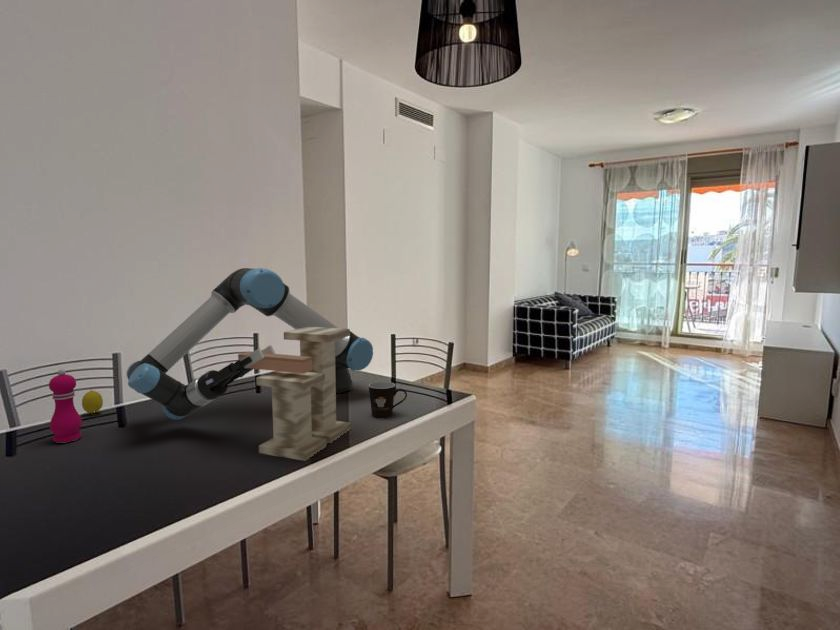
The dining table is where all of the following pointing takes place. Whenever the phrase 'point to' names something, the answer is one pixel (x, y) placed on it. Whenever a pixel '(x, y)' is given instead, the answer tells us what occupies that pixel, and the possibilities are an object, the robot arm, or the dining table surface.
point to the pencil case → (281, 363)
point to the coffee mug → (383, 398)
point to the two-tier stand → (305, 398)
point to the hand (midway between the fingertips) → (266, 351)
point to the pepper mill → (64, 408)
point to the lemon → (92, 401)
